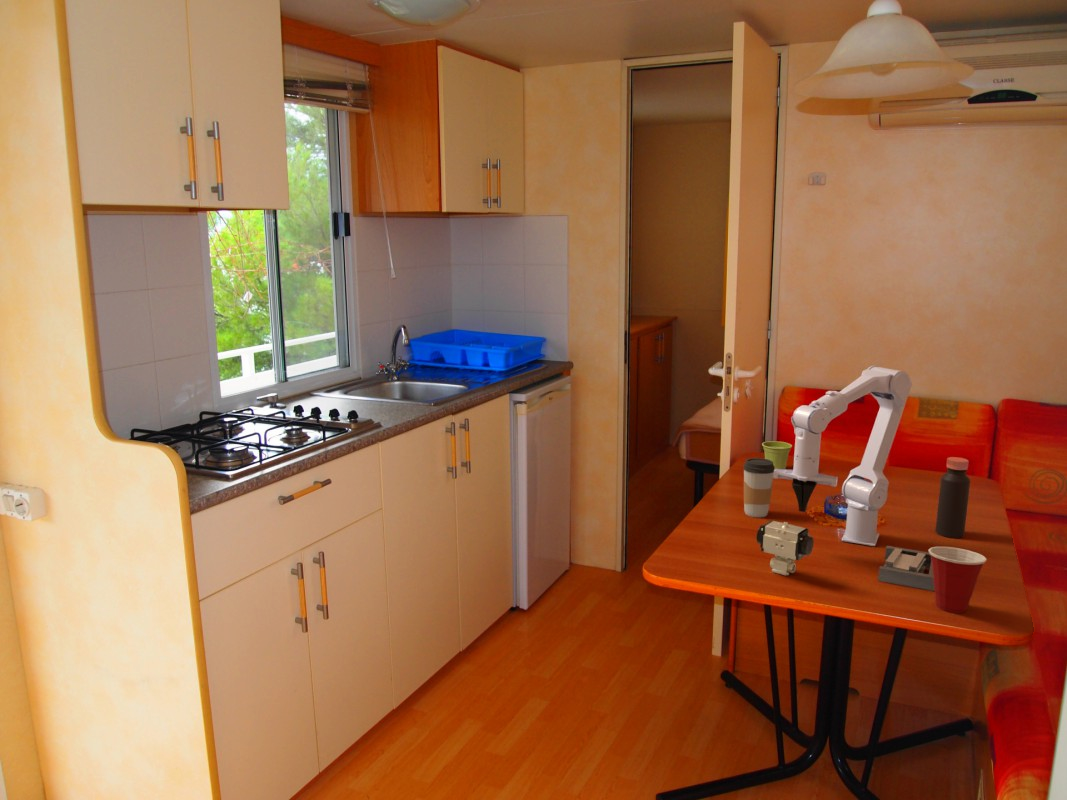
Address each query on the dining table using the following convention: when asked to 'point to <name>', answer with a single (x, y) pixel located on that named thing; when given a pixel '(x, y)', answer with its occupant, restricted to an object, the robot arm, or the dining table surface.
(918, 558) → the block
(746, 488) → the coffee cup
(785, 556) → the pneumatic valve
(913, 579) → the dock
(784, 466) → the plant pot
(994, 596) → the dining table surface
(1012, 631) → the dining table surface
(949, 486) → the bottle
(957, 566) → the plastic cup
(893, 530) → the dining table surface
